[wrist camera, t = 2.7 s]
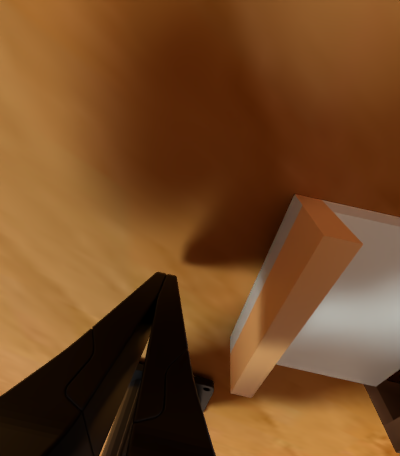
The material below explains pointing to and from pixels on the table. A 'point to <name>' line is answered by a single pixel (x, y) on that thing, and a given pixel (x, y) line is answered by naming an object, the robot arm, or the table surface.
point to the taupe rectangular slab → (388, 408)
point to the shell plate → (323, 299)
